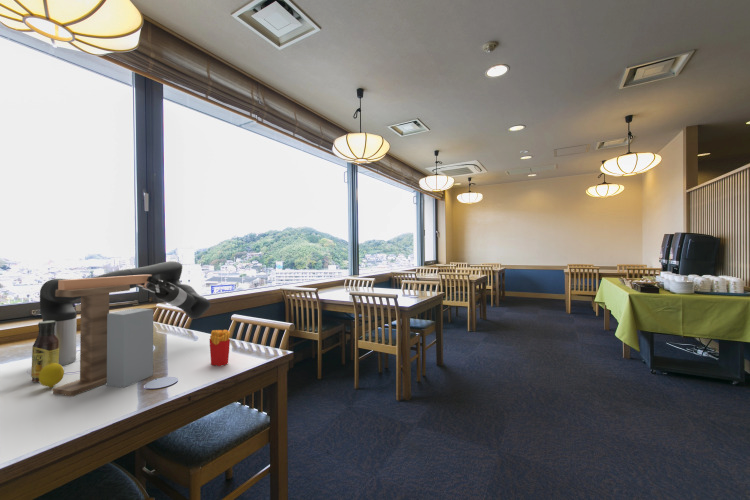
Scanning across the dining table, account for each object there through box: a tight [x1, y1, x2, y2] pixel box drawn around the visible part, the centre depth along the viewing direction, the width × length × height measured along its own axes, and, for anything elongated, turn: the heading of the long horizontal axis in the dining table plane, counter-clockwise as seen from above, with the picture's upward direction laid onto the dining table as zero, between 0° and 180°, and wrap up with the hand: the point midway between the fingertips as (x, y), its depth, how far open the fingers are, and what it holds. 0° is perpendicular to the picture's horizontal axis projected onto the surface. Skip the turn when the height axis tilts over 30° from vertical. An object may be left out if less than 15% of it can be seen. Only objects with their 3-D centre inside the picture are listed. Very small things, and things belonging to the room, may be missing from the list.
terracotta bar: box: [58, 275, 152, 290], centre depth 104 cm, size 3×26×3 cm, turn 161°
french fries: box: [209, 329, 231, 367], centre depth 117 cm, size 9×4×13 cm, turn 68°
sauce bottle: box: [30, 320, 59, 383], centre depth 102 cm, size 7×6×20 cm
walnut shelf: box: [52, 285, 131, 397], centre depth 99 cm, size 8×17×32 cm, turn 167°
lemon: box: [38, 362, 65, 388], centre depth 96 cm, size 6×6×8 cm
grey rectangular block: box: [106, 307, 154, 388], centre depth 102 cm, size 7×10×24 cm
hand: (139, 277), depth 114 cm, fingers open, 8 cm apart
